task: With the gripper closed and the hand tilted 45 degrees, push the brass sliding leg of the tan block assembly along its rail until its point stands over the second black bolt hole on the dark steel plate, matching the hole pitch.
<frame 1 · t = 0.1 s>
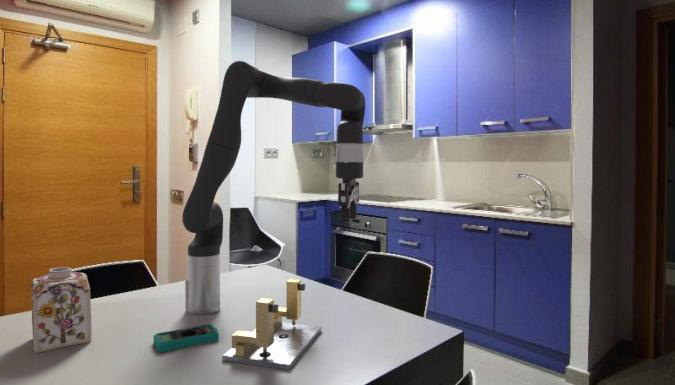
hand: (348, 220, 116), 29 cm above the table, tool pointing down, fingers open, 8 cm apart
sliding leg: (286, 301, 113), point 8 cm above the table, slide at 0.0 cm
digital multimeter: (186, 344, 105), on the table
tan block assembly: (261, 342, 105), resting on flange plate
flange plate: (276, 344, 104), on the table
decorative jar: (61, 341, 105), on the table
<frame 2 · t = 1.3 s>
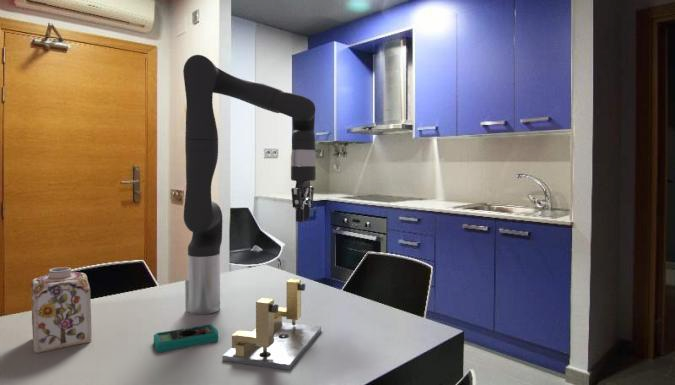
hand: (302, 220, 130), 27 cm above the table, tool pointing down, fingers open, 5 cm apart
nothing on the table moved.
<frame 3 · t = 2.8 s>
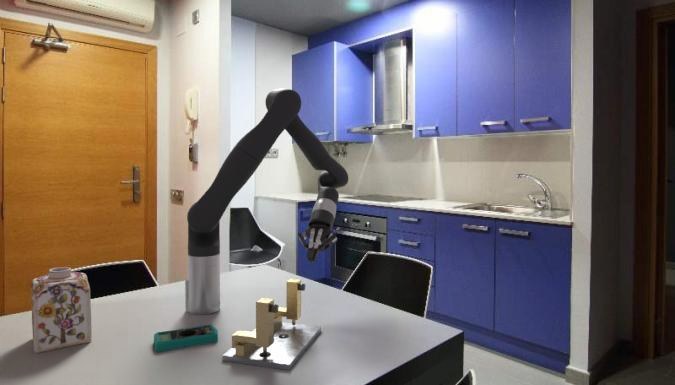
hand: (310, 261, 125), 16 cm above the table, tool tilted 45°, fingers closed
nothing on the table moved.
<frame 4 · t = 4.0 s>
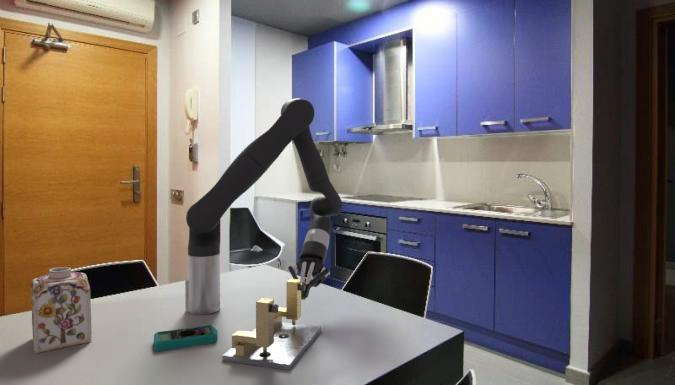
hand: (301, 298, 118), 7 cm above the table, tool tilted 45°, fingers closed
nothing on the table moved.
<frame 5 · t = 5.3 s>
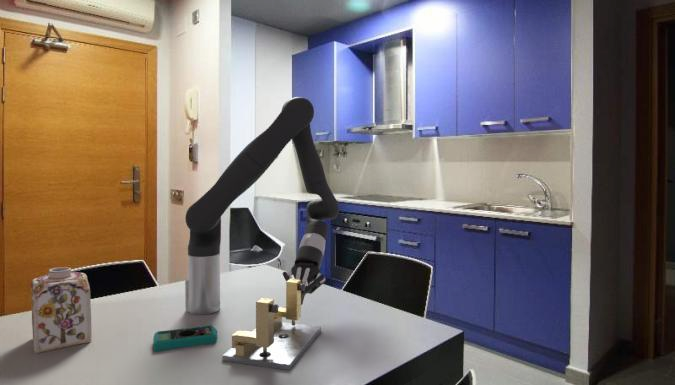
hand: (296, 305, 114), 6 cm above the table, tool tilted 45°, fingers closed
sliding leg: (285, 302, 113), point 8 cm above the table, slide at 0.2 cm, touching gripper
everything else where it was.
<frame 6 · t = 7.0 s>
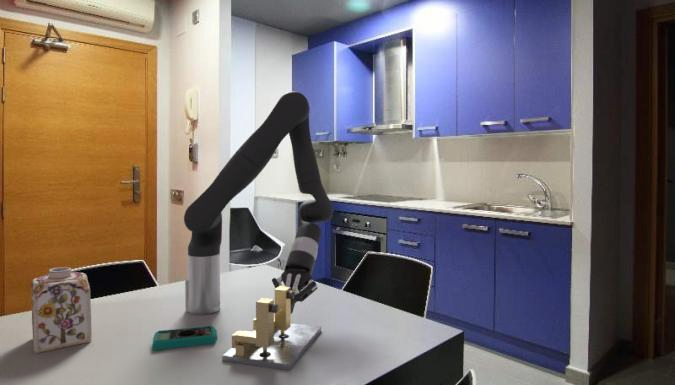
hand: (285, 314, 107), 6 cm above the table, tool tilted 45°, fingers closed
sliding leg: (274, 311, 106), point 8 cm above the table, slide at 7.7 cm, touching gripper
everything else where it was.
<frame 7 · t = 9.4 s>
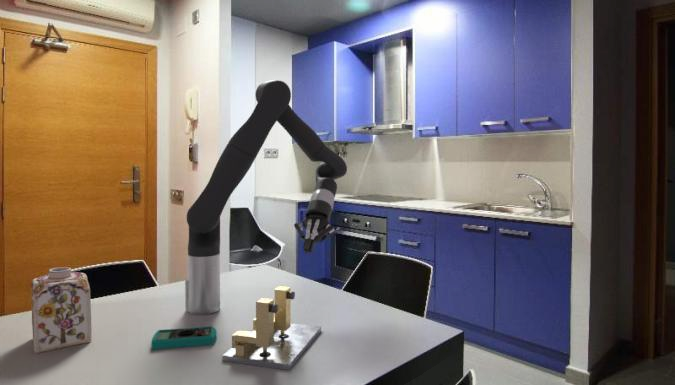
hand: (307, 252, 122), 19 cm above the table, tool tilted 45°, fingers closed
sliding leg: (274, 311, 105), point 8 cm above the table, slide at 7.7 cm
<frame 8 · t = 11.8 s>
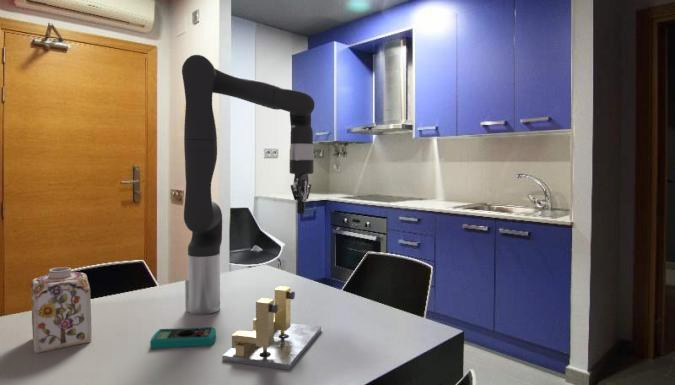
hand: (301, 213, 134), 29 cm above the table, tool pointing down, fingers closed
at the end: sliding leg slide at 7.7 cm; sliding leg 0.4 cm from the target spot, resting on flange plate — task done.
